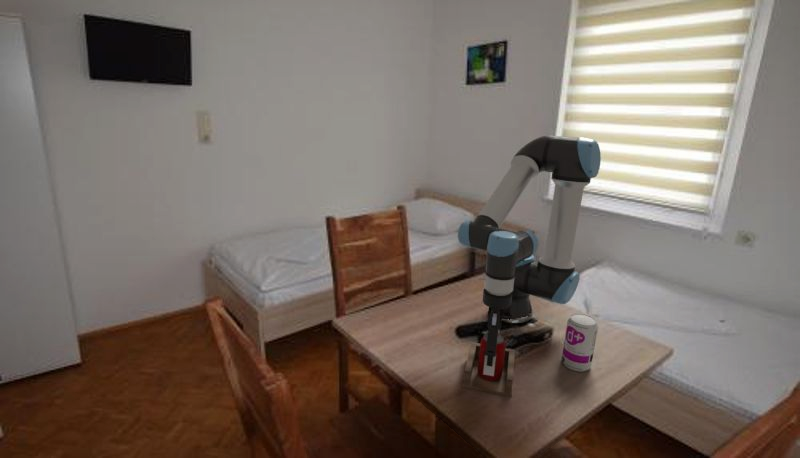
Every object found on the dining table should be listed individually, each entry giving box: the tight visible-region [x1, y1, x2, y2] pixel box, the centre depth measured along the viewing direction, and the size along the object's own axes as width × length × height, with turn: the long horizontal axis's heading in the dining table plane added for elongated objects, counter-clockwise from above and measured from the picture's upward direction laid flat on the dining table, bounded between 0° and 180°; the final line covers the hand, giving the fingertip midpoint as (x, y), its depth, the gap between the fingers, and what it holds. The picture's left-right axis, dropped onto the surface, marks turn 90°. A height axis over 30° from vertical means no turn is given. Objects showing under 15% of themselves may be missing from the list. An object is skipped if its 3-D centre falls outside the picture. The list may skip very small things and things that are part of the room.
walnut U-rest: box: [462, 342, 516, 398], centre depth 121 cm, size 15×13×5 cm
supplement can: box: [561, 313, 599, 372], centre depth 126 cm, size 8×8×15 cm
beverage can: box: [478, 332, 507, 380], centre depth 119 cm, size 7×7×12 cm
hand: (490, 360), depth 119 cm, fingers open, 13 cm apart
